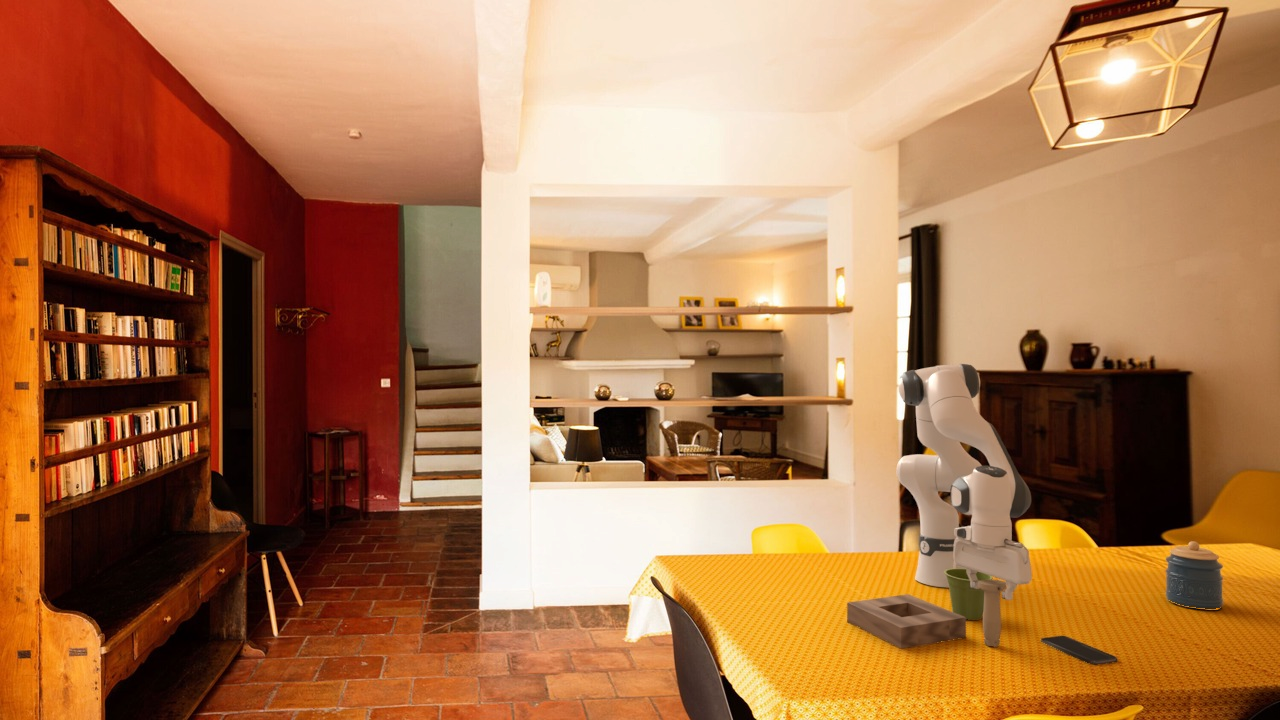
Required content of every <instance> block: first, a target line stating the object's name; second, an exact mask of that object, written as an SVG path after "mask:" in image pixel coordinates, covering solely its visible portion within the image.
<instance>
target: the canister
mask: <svg viewBox="0 0 1280 720" xmlns="http://www.w3.org/2000/svg"><path fill="white" fill-rule="evenodd" d="M1169 554H1170V555H1169V556H1167V557H1165V561H1166V562H1167V567H1166V569H1165V573H1166V574H1165V575H1166V579H1165V580H1166V581H1165V582H1166V583H1165V584H1166V588H1165V589H1166V590H1165V596H1166V600H1167V599H1168V600H1170V601H1172V602H1175V603H1177V604H1180V605H1184V606H1189V607H1196V608H1205V609H1216V608H1220V607H1222V608H1223V605H1224V599H1223V581H1224V577H1223V576H1222V573H1221V571H1222V569H1223V568H1224V566H1223V564H1222V563H1220V562H1219V561H1218V560H1219V558H1220V556H1219V555H1217V554H1216V553H1214V552H1213V551H1212V550H1210V549H1207V548H1202V547H1200V544H1199V543H1198V542H1197V541H1192V540H1191V541H1189V542H1188V544H1187V546H1184V545H1179V546H1175V547H1174V548H1171V549H1170V550H1169ZM1168 600H1167V601H1168Z"/></svg>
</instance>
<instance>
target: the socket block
mask: <svg viewBox="0 0 1280 720" xmlns="http://www.w3.org/2000/svg"><path fill="white" fill-rule="evenodd" d="M846 603H847V605H846V609H847V610H846V611H847V612H846V616H847V621H846V622H847V623H849V624H850V625H853V626H854V625H855V627H856V626H858V627H860V628H861V629H860V628H859V629H860V630H862V629H863V631H864V630H865V631H864V632H866V631H867V632H866V633H868V632H869V633H868V634H870V633H871V634H870V635H872V636H874V635H875V636H874V637H876V636H877V637H876V638H878V637H879V638H878V639H880V638H881V639H880V640H882V639H883V640H882V641H884V640H885V641H884V642H886V641H887V642H886V643H888V642H889V643H888V644H890V643H891V644H890V645H892V644H893V645H892V646H894V645H895V646H894V647H896V646H897V647H896V648H899V649H900V650H902V648H904V649H909V648H908V647H910V648H914V647H915V646H916V647H921V646H926V645H927V646H928V645H933V644H938V643H937V642H939V643H942V642H941V641H945V642H949V641H948V640H951V641H954V640H953V639H957V640H959V639H958V638H962V639H965V638H964V637H966V638H967V619H966V617H964V616H961V615H959V614H956V613H954V612H953V611H951V610H948V609H946V608H945V607H944V608H943V607H941V606H938V605H936V604H933V603H931V602H929V601H926V600H924V599H921V598H918V597H916V596H914V595H911V594H900V595H899V594H898V595H893V596H885V597H879V598H878V597H877V598H871V599H865V600H864V599H863V600H855V601H849V602H848V601H847V602H846ZM858 627H857V628H858Z"/></svg>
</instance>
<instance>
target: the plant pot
mask: <svg viewBox="0 0 1280 720" xmlns="http://www.w3.org/2000/svg"><path fill="white" fill-rule="evenodd" d="M944 573H945V574H946V576H947V582H948V584H949V595H950V596H949V597H950V604H951V610H952V611H951V612H954V613H956V614H959V615H961V616H964V617H966V620H967V619H968V620H967V621H979V620H981V619H983V610H984V591H983V590H982V589H974V588H971V587H970V579H969V577H968V575H967V573H966V569H963V568H952V569H947V570H945V571H944ZM976 576H977V579H978V581H979V580H986V579H992V580H994V579H993V578H994V577H993V576H990V575H986V574H983V573H980V572H977V573H976ZM978 619H979V620H978Z"/></svg>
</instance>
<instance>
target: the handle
mask: <svg viewBox="0 0 1280 720" xmlns="http://www.w3.org/2000/svg"><path fill="white" fill-rule="evenodd" d="M978 587H979V588H980V589H982V590H983V591H984V610H983V616H982V631H983V637H984V639H983V642H984V645H985V644H986V645H985V646H987V647H989V646H994V647H993V648H998V645H999V646H1000V644H1001V633H1002V632H1001V631H1002V617H1001V616H1002V615H1001V613H1002V612H1001V602H1000V601H1001V598H1000V597H1001V595H1000V594H1001V593H1002V591H1005V590H1006V588H1007V585H1006V581H1004V580H1001V579H986V580H979V581H978Z"/></svg>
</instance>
